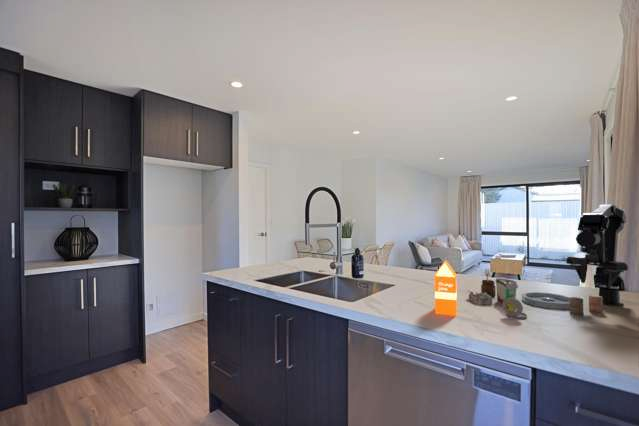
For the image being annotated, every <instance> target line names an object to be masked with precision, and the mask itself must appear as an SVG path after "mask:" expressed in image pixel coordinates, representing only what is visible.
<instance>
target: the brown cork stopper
mask: <svg viewBox="0 0 639 426" xmlns="http://www.w3.org/2000/svg"><path fill="white" fill-rule="evenodd" d="M603 307H604V304H603V297H601V296H599V295H596V294H595V295H594V294H589V295H588V312H590V313H594V314H604V308H603Z"/></svg>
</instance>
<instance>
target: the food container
mask: <svg viewBox="0 0 639 426" xmlns="http://www.w3.org/2000/svg"><path fill="white" fill-rule="evenodd" d="M495 284H496V285H495V287H496V299H497V300H496V302H498V303H499V304H500V305H502V304H503V301H504V300H505V299H506V298H509V297H511V295H510V294H512V293H513V295H515V293H516V295H515V296H513V298H515V299H517V298H516V296H517V289H519V284H518V283H517V281H515V280H513V279H507V278H495ZM509 291H513V292H509ZM508 292H509V294H508ZM514 292H515V293H514ZM507 306H508V304H507ZM508 308H510V307H508Z"/></svg>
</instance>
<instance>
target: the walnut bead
mask: <svg viewBox="0 0 639 426" xmlns="http://www.w3.org/2000/svg"><path fill="white" fill-rule="evenodd" d="M569 297H570V309H569V314H570V315H572V316H577V317H584V299H583V298H581V297H577V296H576V297H575V296H572V297H571V296H569Z"/></svg>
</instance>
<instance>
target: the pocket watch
mask: <svg viewBox="0 0 639 426" xmlns="http://www.w3.org/2000/svg"><path fill="white" fill-rule="evenodd" d="M509 292H513V291H509ZM509 292H508V294H509ZM514 293H515V292H514ZM510 295H511V297H509V298H506V299H505V300H504V301H503V304H502V310H503V311H504V312H505V314H506V316H508V317H511V318H513V319H526V318H528V314H527V313H524V312H523V311H524V306H523V304H522V302H521V301H520V300H519V299H517V298H516V299H515V298H513V296H515V295H516V296H517V292H516V293H515V295H513V293H512V294H510ZM507 304H508V306H507ZM508 307H510V308H508Z"/></svg>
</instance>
